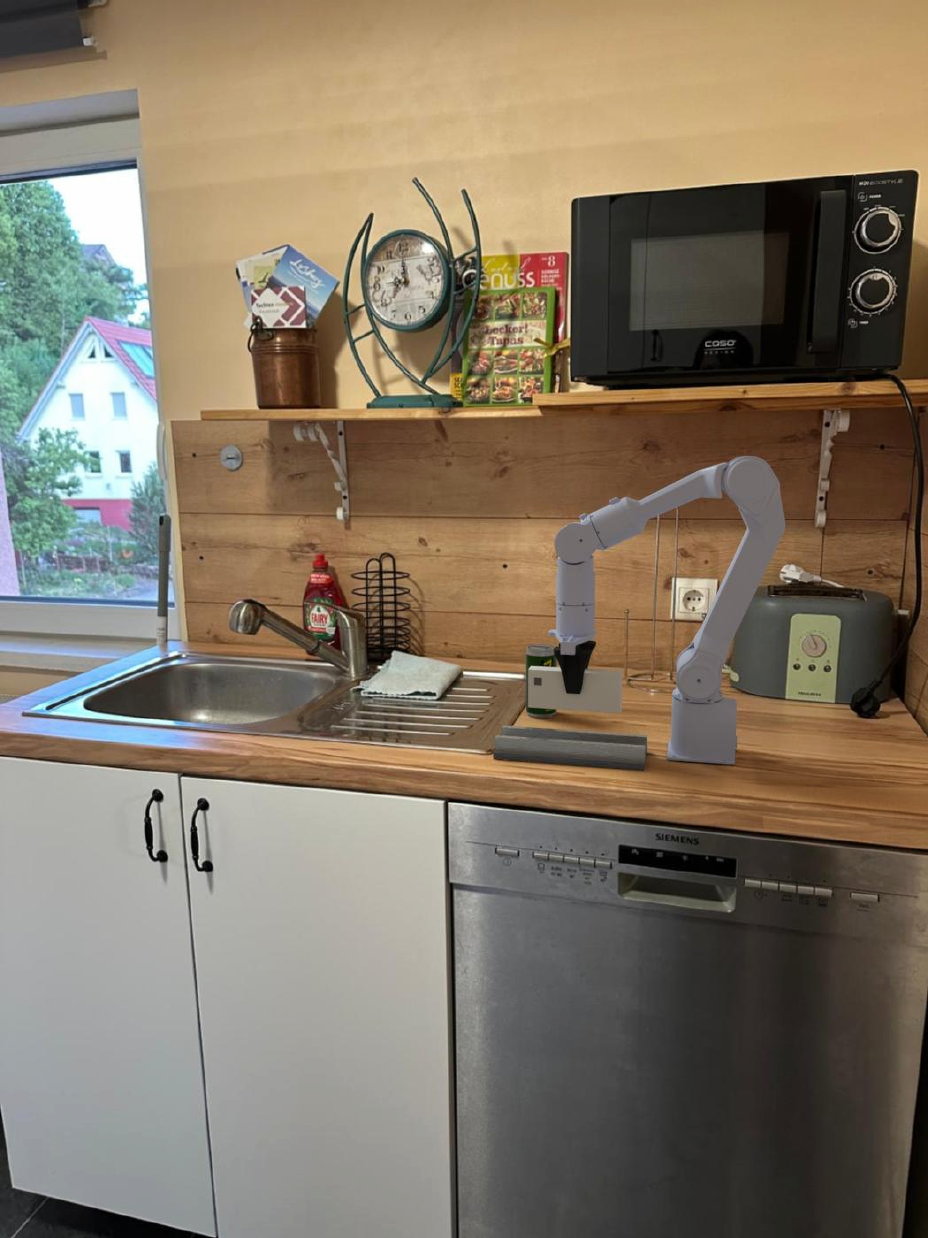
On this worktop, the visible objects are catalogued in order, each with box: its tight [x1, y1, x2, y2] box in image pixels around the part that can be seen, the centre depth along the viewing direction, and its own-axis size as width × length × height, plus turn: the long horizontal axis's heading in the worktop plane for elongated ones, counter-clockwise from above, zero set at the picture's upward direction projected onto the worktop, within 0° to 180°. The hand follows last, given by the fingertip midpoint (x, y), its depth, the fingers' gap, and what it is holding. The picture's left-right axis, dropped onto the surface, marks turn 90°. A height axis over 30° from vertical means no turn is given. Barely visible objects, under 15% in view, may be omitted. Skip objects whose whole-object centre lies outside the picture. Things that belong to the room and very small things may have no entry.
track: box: [492, 724, 648, 771], centre depth 125 cm, size 22×8×3 cm, turn 75°
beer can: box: [525, 643, 558, 719], centre depth 144 cm, size 5×5×12 cm
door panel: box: [528, 666, 623, 715], centre depth 127 cm, size 14×2×6 cm, turn 74°
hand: (574, 690), depth 127 cm, fingers closed on door panel, 2 cm apart
